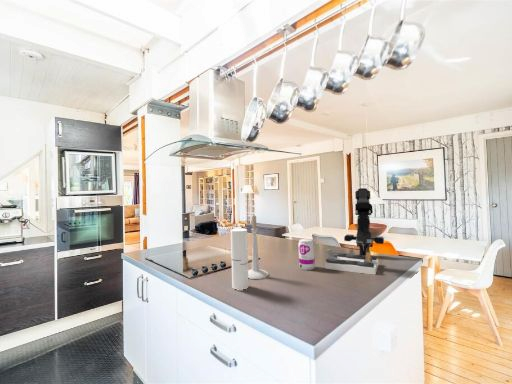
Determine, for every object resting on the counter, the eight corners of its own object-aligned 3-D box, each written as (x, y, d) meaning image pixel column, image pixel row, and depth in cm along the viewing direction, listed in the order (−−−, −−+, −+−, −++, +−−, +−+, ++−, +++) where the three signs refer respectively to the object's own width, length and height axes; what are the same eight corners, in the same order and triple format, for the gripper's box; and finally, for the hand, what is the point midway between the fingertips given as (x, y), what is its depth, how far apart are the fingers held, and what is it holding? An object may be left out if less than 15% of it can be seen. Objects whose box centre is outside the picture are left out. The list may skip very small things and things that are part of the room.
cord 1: (326, 261, 140) (326, 257, 140) (374, 266, 128) (374, 262, 128) (325, 262, 137) (325, 258, 137) (374, 268, 125) (373, 263, 125)
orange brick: (367, 260, 137) (367, 250, 137) (370, 261, 136) (370, 251, 136) (365, 262, 133) (366, 252, 133) (369, 263, 132) (369, 253, 132)
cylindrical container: (233, 284, 116) (231, 228, 116) (249, 284, 116) (247, 228, 116) (231, 290, 109) (229, 231, 109) (248, 290, 109) (246, 231, 109)
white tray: (333, 260, 152) (333, 251, 152) (378, 265, 140) (378, 255, 140) (325, 268, 137) (325, 259, 137) (375, 274, 125) (374, 264, 125)
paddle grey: (333, 258, 145) (328, 249, 147) (335, 256, 145) (330, 248, 146) (331, 259, 142) (326, 251, 143) (333, 258, 141) (328, 250, 142)
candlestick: (271, 272, 133) (269, 213, 133) (264, 280, 121) (262, 216, 121) (247, 270, 137) (246, 213, 137) (238, 278, 124) (237, 216, 124)
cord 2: (332, 255, 152) (332, 251, 152) (377, 259, 140) (376, 255, 140) (331, 256, 149) (331, 253, 149) (376, 260, 138) (376, 257, 138)
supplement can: (310, 271, 133) (309, 242, 133) (296, 268, 138) (295, 240, 138) (317, 267, 139) (316, 239, 139) (303, 265, 144) (302, 238, 144)
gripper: (341, 226, 133) (342, 256, 133) (382, 228, 124) (382, 261, 124) (346, 224, 143) (346, 252, 143) (383, 225, 133) (384, 256, 133)
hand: (364, 255), depth 135 cm, fingers closed
